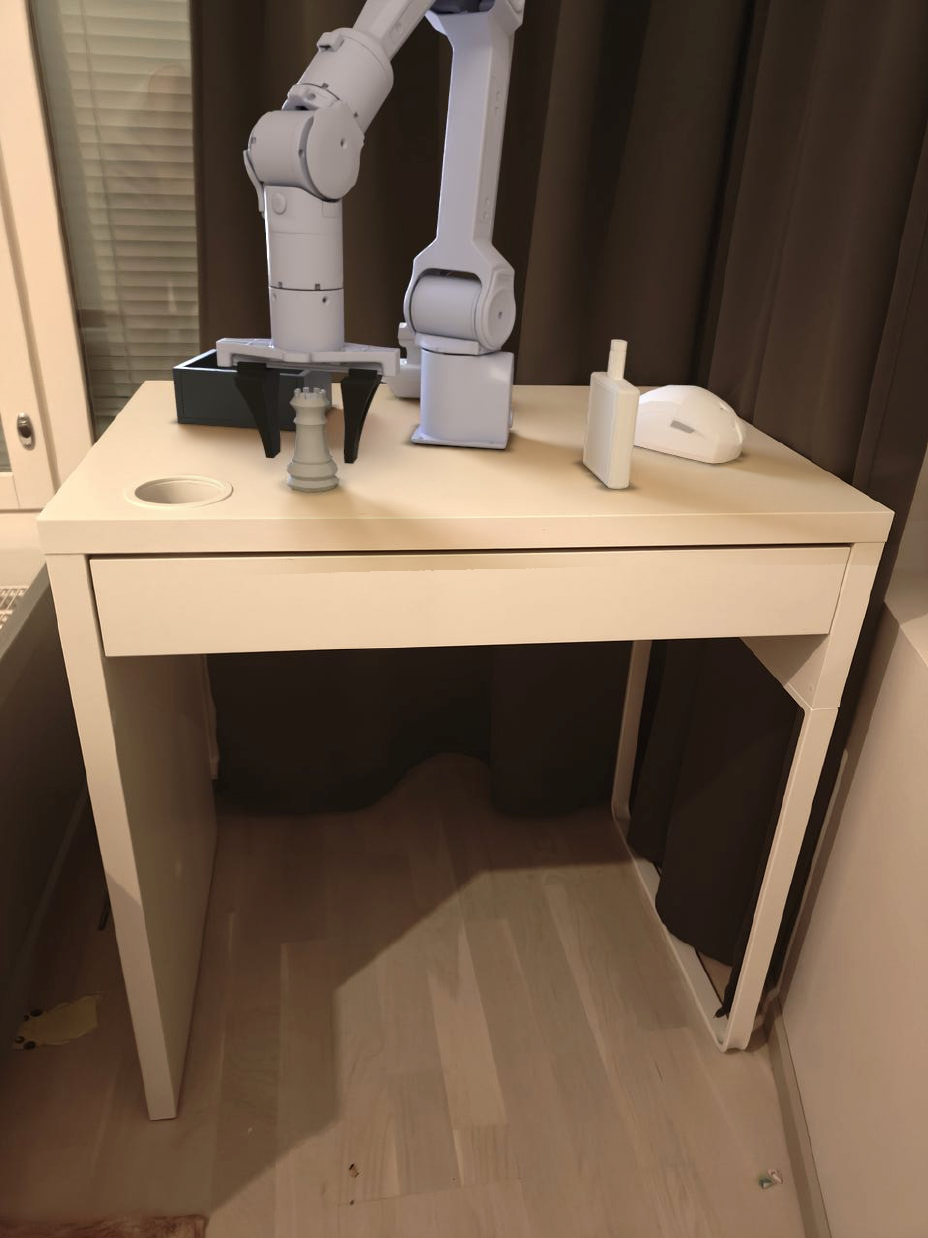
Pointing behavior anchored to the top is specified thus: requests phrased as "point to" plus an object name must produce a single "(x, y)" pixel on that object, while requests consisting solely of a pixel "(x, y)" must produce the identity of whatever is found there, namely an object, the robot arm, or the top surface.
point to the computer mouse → (689, 424)
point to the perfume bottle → (611, 421)
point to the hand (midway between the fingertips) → (312, 457)
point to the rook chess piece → (311, 444)
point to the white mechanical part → (407, 368)
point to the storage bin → (235, 393)
